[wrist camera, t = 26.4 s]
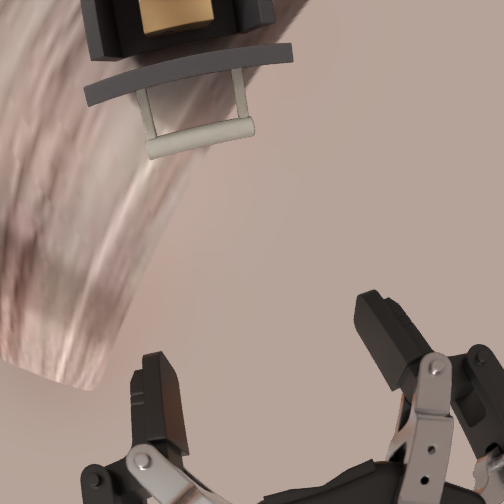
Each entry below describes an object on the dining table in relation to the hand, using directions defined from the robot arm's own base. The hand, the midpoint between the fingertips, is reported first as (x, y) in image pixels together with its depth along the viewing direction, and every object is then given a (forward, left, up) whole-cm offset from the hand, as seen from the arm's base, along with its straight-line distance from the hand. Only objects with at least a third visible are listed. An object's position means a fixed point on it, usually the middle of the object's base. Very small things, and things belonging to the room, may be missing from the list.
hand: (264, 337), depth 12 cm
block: (0, +14, -16) cm, 22 cm away
